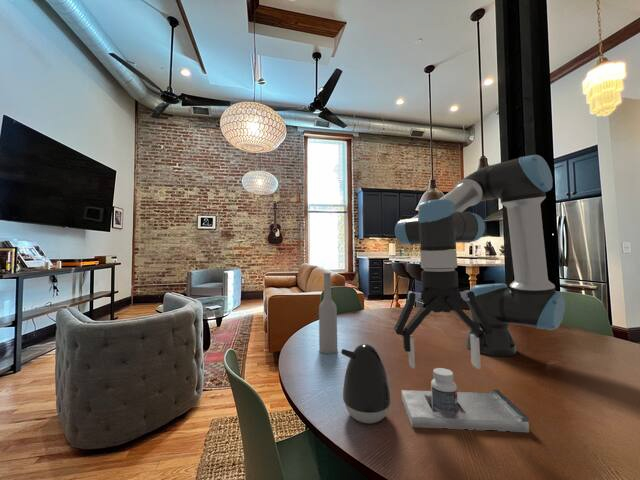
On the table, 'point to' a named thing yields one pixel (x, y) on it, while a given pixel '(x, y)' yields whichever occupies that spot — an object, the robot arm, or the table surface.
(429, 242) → the robot arm
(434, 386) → the pill bottle
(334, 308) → the bottle
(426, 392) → the jig
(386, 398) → the pump dispenser
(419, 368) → the table surface
